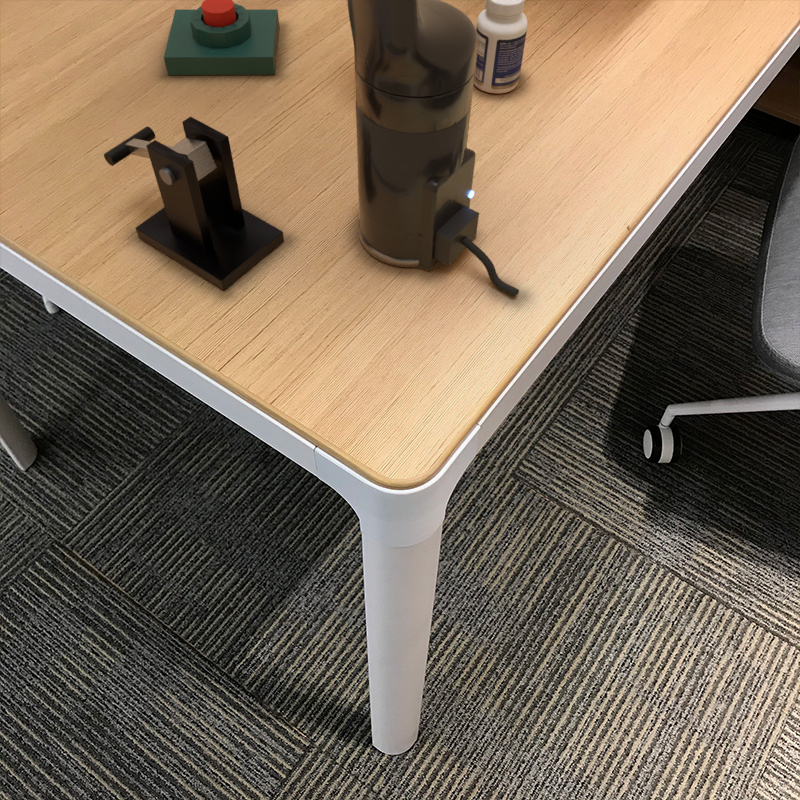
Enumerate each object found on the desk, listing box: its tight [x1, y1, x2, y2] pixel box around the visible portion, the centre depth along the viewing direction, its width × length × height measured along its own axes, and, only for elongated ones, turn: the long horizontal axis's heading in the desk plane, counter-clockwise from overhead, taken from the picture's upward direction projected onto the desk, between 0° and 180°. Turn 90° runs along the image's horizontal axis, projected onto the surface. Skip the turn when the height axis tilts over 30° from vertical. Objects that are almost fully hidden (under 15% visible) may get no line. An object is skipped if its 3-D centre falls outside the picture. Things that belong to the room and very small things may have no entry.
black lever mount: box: [135, 116, 285, 291], centre depth 67 cm, size 11×8×11 cm
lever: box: [103, 126, 217, 181], centre depth 66 cm, size 11×5×2 cm, turn 53°
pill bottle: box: [474, 0, 529, 94], centre depth 83 cm, size 5×5×10 cm
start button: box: [200, 0, 236, 27], centre depth 86 cm, size 4×4×2 cm
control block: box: [163, 2, 280, 76], centre depth 88 cm, size 12×10×4 cm
